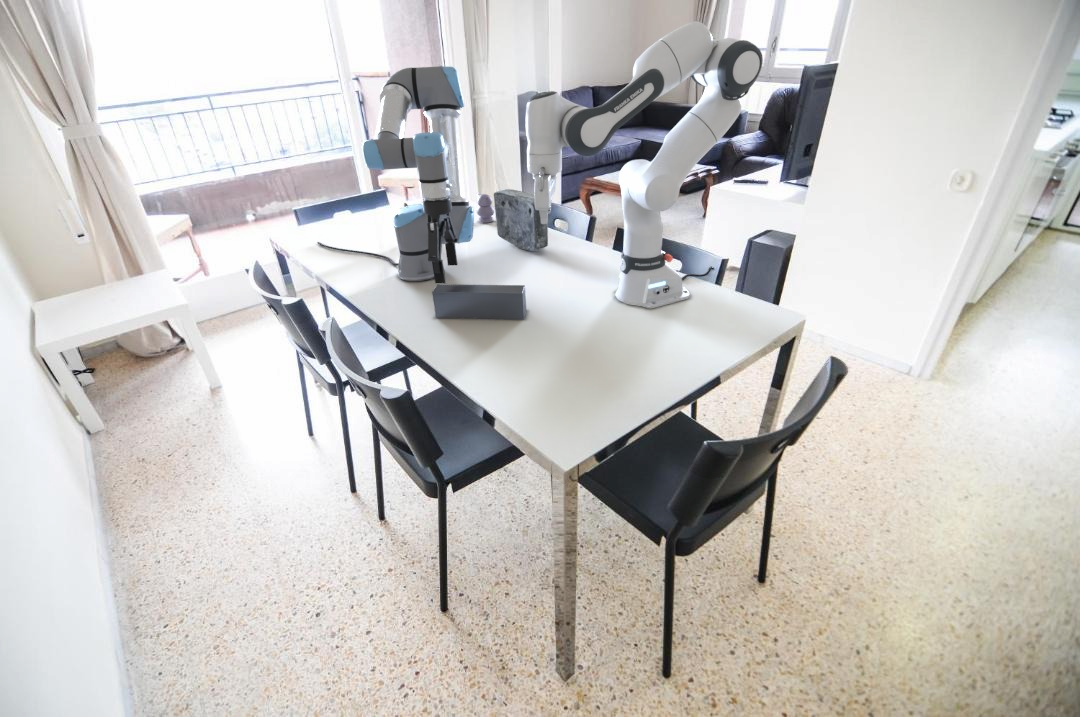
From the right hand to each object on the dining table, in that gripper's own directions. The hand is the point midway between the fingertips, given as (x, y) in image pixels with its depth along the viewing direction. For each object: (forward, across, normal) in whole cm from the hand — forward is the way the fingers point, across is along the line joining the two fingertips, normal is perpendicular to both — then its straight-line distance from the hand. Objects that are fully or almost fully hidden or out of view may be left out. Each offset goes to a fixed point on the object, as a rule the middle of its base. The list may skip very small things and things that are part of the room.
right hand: (546, 218), depth 134 cm
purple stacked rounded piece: (+27, +92, +37) cm, 103 cm away
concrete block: (+27, +56, +15) cm, 64 cm away
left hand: (+15, -4, +28) cm, 32 cm away
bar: (+27, -4, +20) cm, 34 cm away
